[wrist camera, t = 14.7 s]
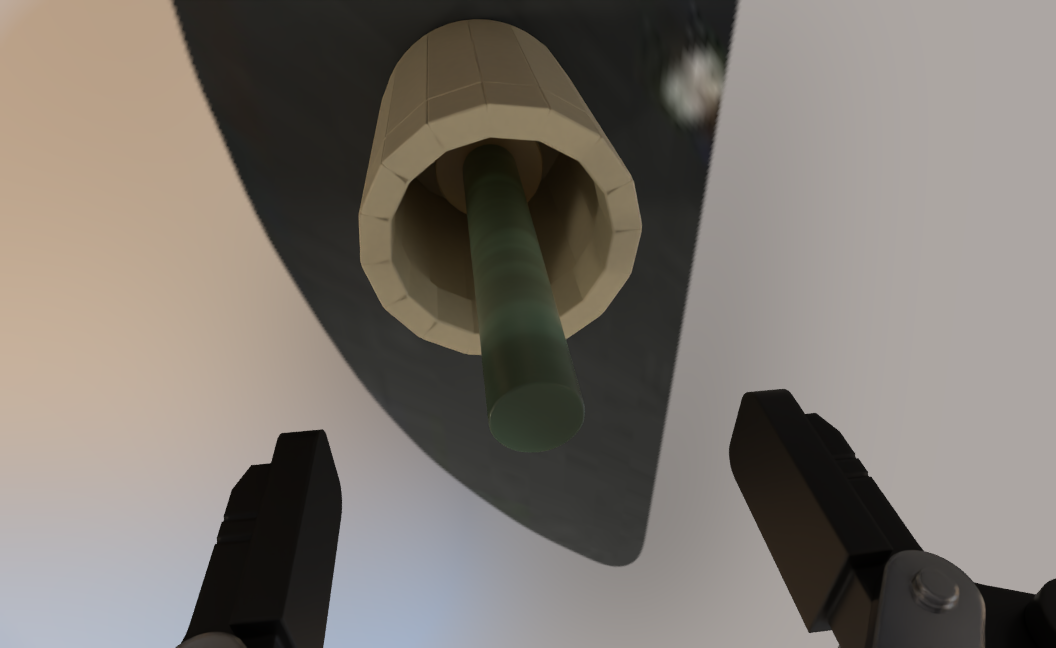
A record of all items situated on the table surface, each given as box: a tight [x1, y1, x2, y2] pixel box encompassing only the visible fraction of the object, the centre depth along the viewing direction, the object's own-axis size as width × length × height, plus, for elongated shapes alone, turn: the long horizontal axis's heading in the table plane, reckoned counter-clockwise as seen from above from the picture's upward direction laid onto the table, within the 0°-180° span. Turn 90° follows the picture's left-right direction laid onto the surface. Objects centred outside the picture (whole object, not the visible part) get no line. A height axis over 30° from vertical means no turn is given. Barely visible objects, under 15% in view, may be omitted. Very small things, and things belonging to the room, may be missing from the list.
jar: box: [359, 19, 642, 355], centre depth 23 cm, size 8×8×11 cm
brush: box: [435, 137, 585, 452], centre depth 20 cm, size 4×4×18 cm
